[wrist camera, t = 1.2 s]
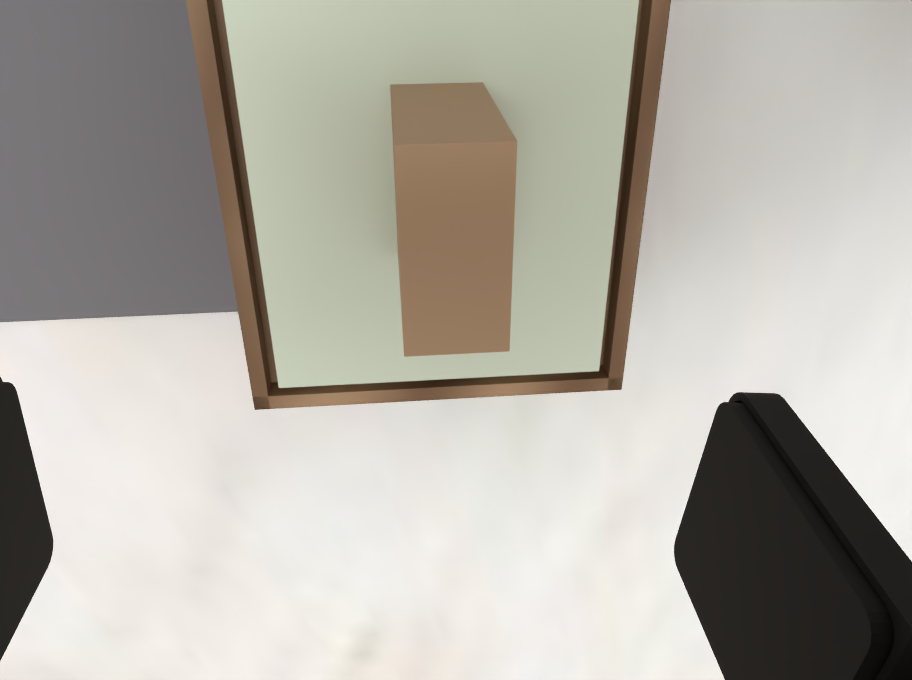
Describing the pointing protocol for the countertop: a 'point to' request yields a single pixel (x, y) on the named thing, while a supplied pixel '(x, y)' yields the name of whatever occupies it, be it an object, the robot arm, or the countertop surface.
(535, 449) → the countertop surface
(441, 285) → the lid
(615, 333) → the crate
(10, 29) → the mat
